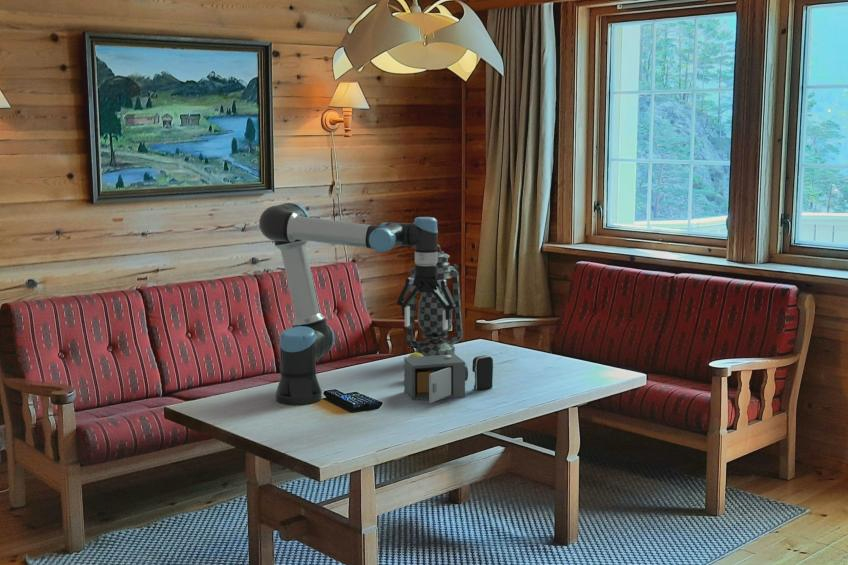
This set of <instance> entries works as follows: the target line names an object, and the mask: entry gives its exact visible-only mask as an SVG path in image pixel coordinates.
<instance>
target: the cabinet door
mask: <svg viewBox="0 0 848 565" xmlns="http://www.w3.org/2000/svg"><path fill="white" fill-rule="evenodd" d="M449 395H451V367H448V368H445V369H442V370H440V371H437V372H434V373H431V374H429V400H428V403H430V404H433V403H434V402H437V401H439V400H443V399H442V398H444V397H447V396H449Z"/></svg>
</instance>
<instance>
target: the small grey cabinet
mask: <svg viewBox="0 0 848 565" xmlns="http://www.w3.org/2000/svg"><path fill="white" fill-rule="evenodd" d="M403 360H404V361H403V380H404V381H403V385H404V386H403V388H404V389H403V390H404V391H403V392H404V393H405V394H406V395H407V396H408V397H409V399H410V400H411V401H413V402H417V401H418V402H419V401H420V402H421V401H429V374H431V373H434V372H437V371H440V370H442V369H445V368H448V367H451V395H449V396H447V397H444V398H442V399H441V400H443V399H444V400H445V399H447V400H448V399H458V398H460V399H461V398H466V381H468V378H469V369H468V364H466V362H465V360H463V359H462V358H461V357H459V356H458V355H456V353H455V354H450V355H435V356H420V357H409V356H406V357H403Z"/></svg>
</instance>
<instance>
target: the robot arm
mask: <svg viewBox="0 0 848 565" xmlns="http://www.w3.org/2000/svg"><path fill="white" fill-rule="evenodd" d="M259 217H260V218H259V222H258V223H259V224H258V227H259V229H260V232H261V234H262V235H263V236H264V237H265V238H267V239H268V240H271V241H273V242H274V246H275V247H276V248H277V249H279V251H280V253H281V258H282V262H283V268H284V272H285V277H286V281H287V286H288V290H289V293H290V294H289V295H290V300H291V304H292V308H293V313H294V320H293V322H292V323H291V324H292V325H291V326H292V327H289V328H286V329H284V330H283V331H282V332H280V335H279V343H278V344H279V345H278V346H279V359H280V361H279V362H280V363H279V364H280V378H279V382H278V385H277V387H276V392H275V401H277V402H278V403H281V404H284V405H295V406H297V405H307V404H309V405H310V404H314V403H316V402H319V401H321V400H322V398H323V396H322V389H321V386H320V383H319V380H318V378H317V370H316V368H317V365H316V363H317V362H316V361H317V360H319V359H320V358H323V357H325V356H326V355H328V354H329V352H330V351H331V350H332V349H333V346H334V344H335V333H334V330H333V329H332V327H331V326H329V325H328V323H327V319H326V316H325V315H323V314H322V313H321V311H320V306H319V302H318V298H317V293H316V288H315V285H314V284H315V283H314V278H313V274H312V270H311V266H310V260H309V256H308V250H307V244H308V242H315V243H324V244H332V245H339V246H340V245H341V246H349V247H355V248H362V249H363V248H365V249H372V250H374V251H375V252H379V253H386V252H388V251H390V250H392V249H394V248H396V247H400V246H402V247H403V246H404V247H408V246H409V247H414V264H415V265H414V268H415V279H412V278H411V276H410V277H406V278H405V281H404V286H403V288H402V290H401V292H400V294H399V297H398V299H397V301H396V305H397V306H401V308H402V309H401V313H402V314H401V315H402V317H404V328H408V326H410V306H409V303H410V302H411V301H412V299H413V298H414V297H415V296H416V297H417V295H418V293H419V292H420V293H423V292H426V293H431V292H432V294H433V295H435V297H436V298H437V299H438V301H439V302H440V303H441V305H442V306H443V307H444V309H445V310H443V330H446V329H448V320H449V319H450V311H451V309H453V308H455V307H456V304H455V302H454V297H453V295H452V294H451V291H450V289H449V287H448V281H447V280H448V279H445V280H439V281H438V279H437V275H438V266H437V265H436V264H437V263H438V256H437V252H438V247H437V245H438V239H439V238H438V236H439V235H438V233H439V231H438V220H437V218H435V217H434V216H433V217H431V216H418V217H415V218H414V221H413V222H410V223H408V222H391V221H389V222H381V223H380V225H373V224H364V223H357V222H349V221H348V222H347V221H340V220H333V219H332V220H331V219H326V218H325V219H323V218H318V217H317V218H315V217H310V216H309V213H308V212H307V210H306V209H305V208H304V207H303V206H301V205H300V204H299V203H295V202H287V203H285V202H284V203H281V204H278V205H271V206H268V207H267V208H266V209H265V210H264V211H262V213H261V215H260V216H259ZM413 282H414V284H415V285H416V288H415V289H414V290H413V292H412V293H411V294H410V293H409V295H408V292H410V286H411V284H413ZM438 284H439V285H440V287H441V288H442V291H443V293H444V295H445V297H446V299H447V301H446V300H445V298H444V297H443V296H442V294H441V293H440V292H439V289H438V288H437V285H438ZM407 295H408V296H407ZM406 296H407V298H406ZM453 310H454V309H453Z"/></svg>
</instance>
